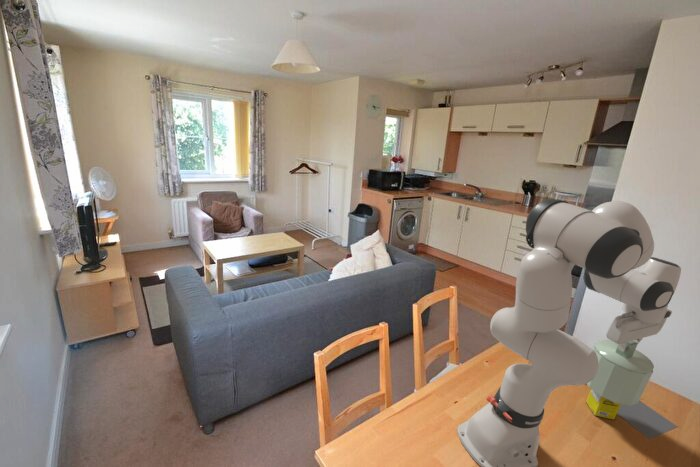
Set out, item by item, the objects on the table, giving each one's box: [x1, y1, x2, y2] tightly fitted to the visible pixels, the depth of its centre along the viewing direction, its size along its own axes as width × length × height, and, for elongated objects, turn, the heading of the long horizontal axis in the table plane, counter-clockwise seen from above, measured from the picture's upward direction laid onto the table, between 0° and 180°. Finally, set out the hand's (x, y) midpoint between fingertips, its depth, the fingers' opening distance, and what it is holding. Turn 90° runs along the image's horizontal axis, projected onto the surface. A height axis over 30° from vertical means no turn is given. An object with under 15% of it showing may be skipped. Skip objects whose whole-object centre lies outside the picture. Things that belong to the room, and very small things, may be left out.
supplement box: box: [585, 388, 621, 421], centre depth 104 cm, size 6×6×11 cm
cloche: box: [586, 339, 655, 406], centre depth 100 cm, size 14×14×18 cm
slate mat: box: [616, 399, 678, 440], centre depth 106 cm, size 15×15×1 cm
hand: (626, 348), depth 98 cm, fingers closed on cloche, 3 cm apart
